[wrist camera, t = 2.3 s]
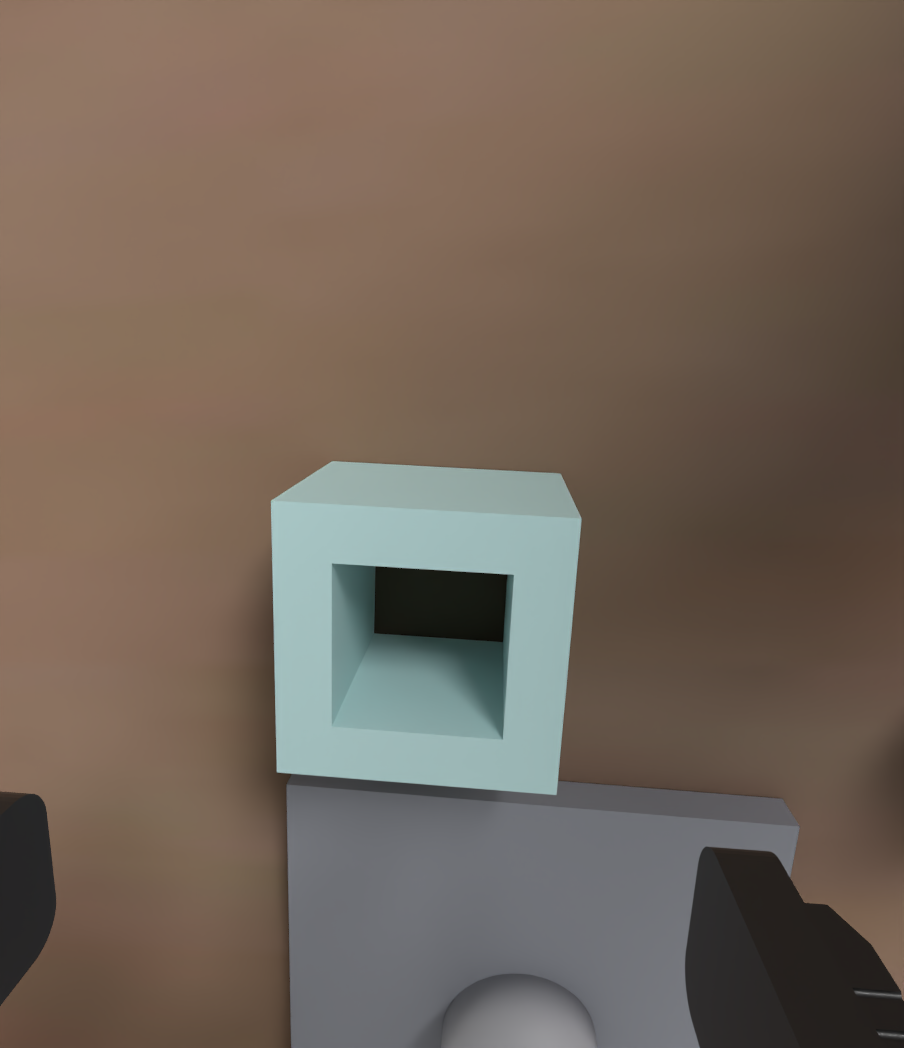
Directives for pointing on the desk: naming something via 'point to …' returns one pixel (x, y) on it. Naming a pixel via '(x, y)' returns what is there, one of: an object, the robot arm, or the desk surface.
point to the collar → (413, 661)
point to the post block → (501, 911)
